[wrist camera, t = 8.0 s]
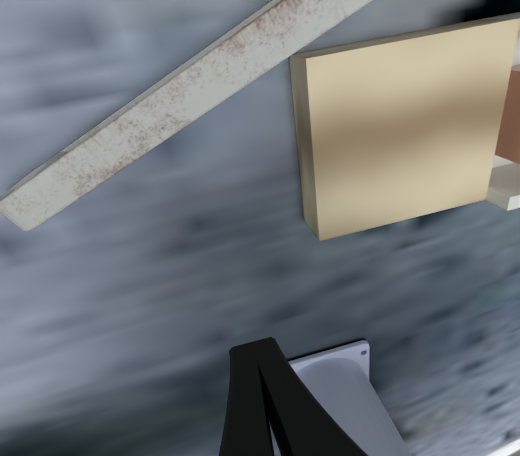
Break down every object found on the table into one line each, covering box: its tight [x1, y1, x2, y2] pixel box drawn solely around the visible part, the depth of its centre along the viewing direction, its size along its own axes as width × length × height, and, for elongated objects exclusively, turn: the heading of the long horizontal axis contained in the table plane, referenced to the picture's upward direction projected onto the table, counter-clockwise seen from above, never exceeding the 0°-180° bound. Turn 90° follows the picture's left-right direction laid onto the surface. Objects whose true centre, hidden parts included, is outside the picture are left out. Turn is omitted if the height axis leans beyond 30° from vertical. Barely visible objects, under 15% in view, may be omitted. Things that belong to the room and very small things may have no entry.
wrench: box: [0, 0, 373, 231], centre depth 14 cm, size 8×2×30 cm
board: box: [289, 18, 520, 241], centre depth 19 cm, size 9×10×2 cm
